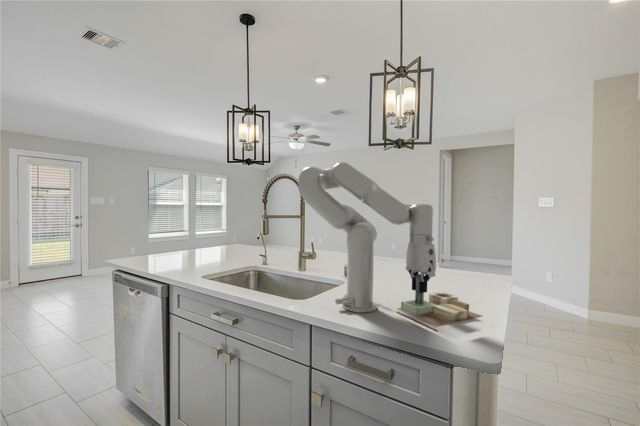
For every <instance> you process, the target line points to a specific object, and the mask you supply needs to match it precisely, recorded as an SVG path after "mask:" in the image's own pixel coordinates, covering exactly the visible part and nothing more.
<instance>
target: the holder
mask: <svg viewBox="0 0 640 426" xmlns="http://www.w3.org/2000/svg"><path fill="white" fill-rule="evenodd" d="M453 299H454V300H457V301H459V296H456V295H453V294H451V293H450V294H449V293H447V292H444V291H439V292H434V293H429V294H428V302H430V303H433V304H436V305H441V304H447V303H448V304H450V300H453Z"/></svg>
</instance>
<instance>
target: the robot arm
mask: <svg viewBox="0 0 640 426" xmlns="http://www.w3.org/2000/svg"><path fill="white" fill-rule="evenodd" d="M297 184H298V192H299V193H300V196H301V197H302V199H303V201H304V202H305V203H306V204H307V205H308V206H310V207H311V209H313V210H314V211H315V212H316V213H317V214H318V215H320V217H321V218H323V219H324V220H325V221H326V222H327V223H328V224H329V225H330V226H331V227H332V228H334V229H336V230H342V231H344V232H345V233H346V234H347V236H346V245H347V281H346V283H347V285H346V287H347V288H346V292H347V293H346V294H344V297H342V298H336V299H335V304H336V305H342V307H343V309H344V310H347V311H349V312H353V313H359V314H361V313H365V314H366V313H372V312H375V311H376V310H377V307H378V306H377V303H375V302H373V300H374V299H373V295H374V290H373V289H374V243H375V241H376V240H377V234H378V233H377V228H376V227H375V226H374V225H373V224H372V223H371V222H370V221H369V220H368V219H366V218H365V217H363V215H361V214H360V213H359V212H358V211H356V210H355V208H353V207H352V206H349V205H346V204H342V203H341V202H340V201H338V200H337V199H335V198H334V196H332V195H331V194H330V193H329V192H327V191H326V190H331V189H338V188H343V189H344V190H346V191H347V192H348V193H350V194H351V195H352V196H354V197H355V198H356V199H358V200H359V201H360V202H361V203H363V204H365V205H367V207H369V208H371V210H373V211H374V212H375V213H377V214H378V215H380V216H381V217H383V218H384V219H385V220H387V221H388V222H390V223H391V224H393V225H398V226H399V225H403V224H409V242H408V244H407V249H406V259H405V260H406V262H405V263H406V264H405V265H406V266H405V270H406V271H407V272H408V273H409V275H410V279H412V280H411V290H412V291H415V280H416V274H421V281H419V292H420V293H427V292H428V282H429V281H430V280H431V278H433V277H436V271H437V258H436V248H435V245H434V243H433V241H434V237H433V218H434V215H433V213H434V209H433V205H431V204H427V203H426V204H424V203H413V204H406V203H402V201H400V200H398V199H397V198H395V197H394V196H392V195H391V194H389V193H388V192H387V191H385V190H384V189H383V188H381V186H380V185H379V184H378V183H376V181H374V180H372V178H370V177H368V176H367V175H365V174H364V173H362V172H361V171H359V170H358V169H356V168H355V167H353V166H352V165H351V164H349V163H348V162H344V161H339V162H337V163H336V164H334V165H333V167H332V168H331V167H330V168H325V169H321V168H319V167H317V166H307V167H305V168H303V169H302V170H301V171H300V173H299V175H298V181H297Z"/></svg>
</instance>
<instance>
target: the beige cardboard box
mask: <svg viewBox="0 0 640 426" xmlns="http://www.w3.org/2000/svg"><path fill="white" fill-rule="evenodd" d="M433 313H434V314H437V315H439V316H442V317H444V318H447V319H449V320H451V321H456V320H460V319H465V318H467V316H468V310H465V309H462V308H459V307H457V306H454V305H451V304H448V303H447V304H441V305H436V306H433Z"/></svg>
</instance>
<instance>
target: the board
mask: <svg viewBox="0 0 640 426" xmlns="http://www.w3.org/2000/svg"><path fill="white" fill-rule="evenodd" d="M450 304H451V305H454V306H457V307H459V308H462V309H465V310H468V316H467V318H465V319H460V320H456V321H451V320H449V319H447V318H444V317H442V316H439V315H437V314H434V313H429V314H424V315H419V316H416V315H414V314H412V313H410V312H407V311H405V310H403V309H401V307H397V308H396V310H399V311H401V312H404V313H405V314H408V315H409V316H412V317H414V318H416V319H419V320H421V321H422V322H425V323H427V324H429V325H432V326H434V327H436V328H437V327H442V326H447V325H450V324H455V323H460V322H463V321H468V320H473V319H478V318H482V317H483V315H480V314H478V313H475V312H472V311H470V304H469V303H466V302H463V301H460V300H458V301H457V300H454V299H453V300H450ZM399 311H396V314H398V315H401V316H403V317H405V318H407V319H408V320H411V321H413V322H416V323H417V324H420V325H421V326H423V327H426V328H428V329H430V330H433V331H435V332H438V330H437V329H435V328H433V327H431V326H429V325H426V324H424V323H422V322H420V321H418V320H416V319H414V318H412V317H409V316H407V315H405V314H403V313H401V312H399Z"/></svg>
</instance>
